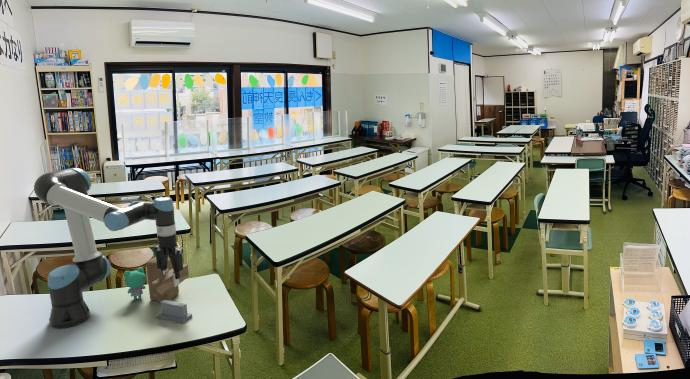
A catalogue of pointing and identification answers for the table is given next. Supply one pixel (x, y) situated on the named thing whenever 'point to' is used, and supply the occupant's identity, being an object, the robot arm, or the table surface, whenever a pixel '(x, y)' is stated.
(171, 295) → the wooden block
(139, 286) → the toy
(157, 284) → the beam
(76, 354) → the table surface
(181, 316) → the ridge stand
